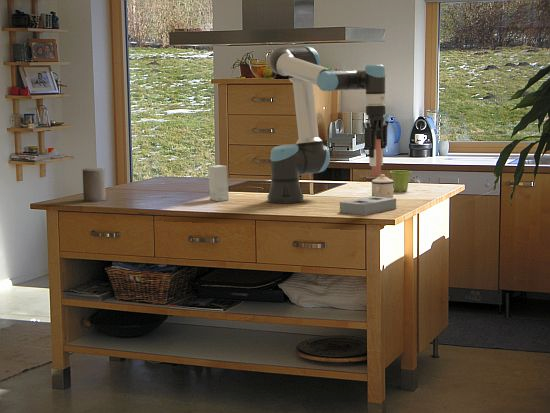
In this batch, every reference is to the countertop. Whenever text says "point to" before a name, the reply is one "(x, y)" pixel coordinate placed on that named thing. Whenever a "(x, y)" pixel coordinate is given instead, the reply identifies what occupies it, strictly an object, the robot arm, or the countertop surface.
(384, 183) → the teacup with lid
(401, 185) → the plant pot
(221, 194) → the skincare box
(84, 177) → the pillar candle
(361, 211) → the bore block
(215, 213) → the countertop surface
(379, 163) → the dowel
